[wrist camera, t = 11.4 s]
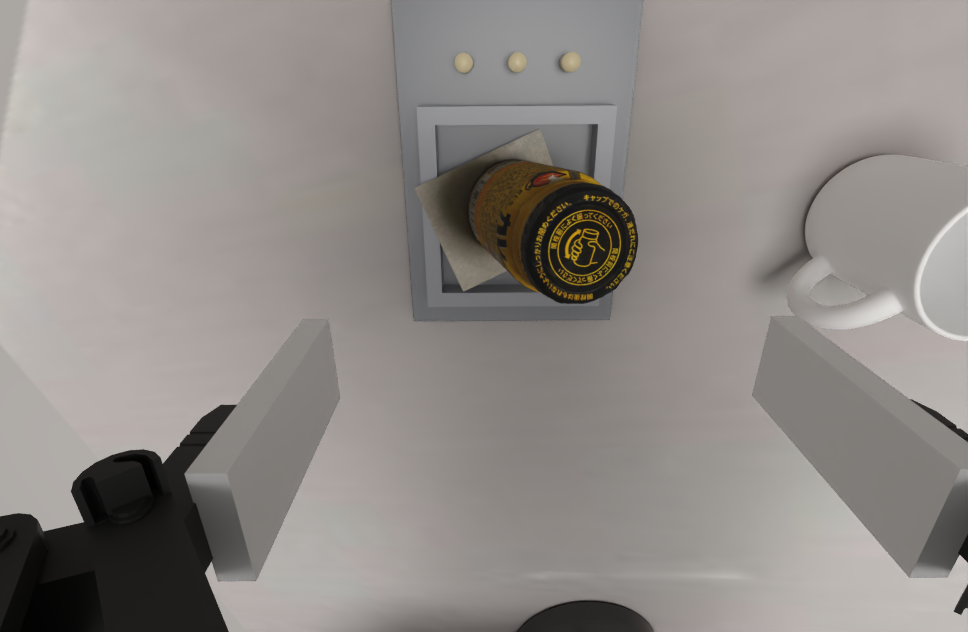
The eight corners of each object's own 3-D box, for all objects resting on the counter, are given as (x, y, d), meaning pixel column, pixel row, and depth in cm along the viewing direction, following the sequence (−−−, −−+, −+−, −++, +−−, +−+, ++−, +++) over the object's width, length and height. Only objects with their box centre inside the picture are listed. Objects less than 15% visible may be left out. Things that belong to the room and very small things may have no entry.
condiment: (577, 235, 34) (675, 284, 23) (462, 291, 34) (506, 367, 23) (539, 128, 31) (629, 125, 20) (413, 187, 31) (436, 217, 20)
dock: (607, 315, 37) (614, 329, 35) (415, 316, 37) (411, 330, 35) (640, -7, 29) (652, -13, 27) (393, -4, 29) (386, -11, 27)
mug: (780, 325, 38) (877, 406, 28) (727, 239, 35) (816, 297, 26) (946, 226, 35) (1116, 280, 25) (902, 124, 32) (1075, 141, 23)
